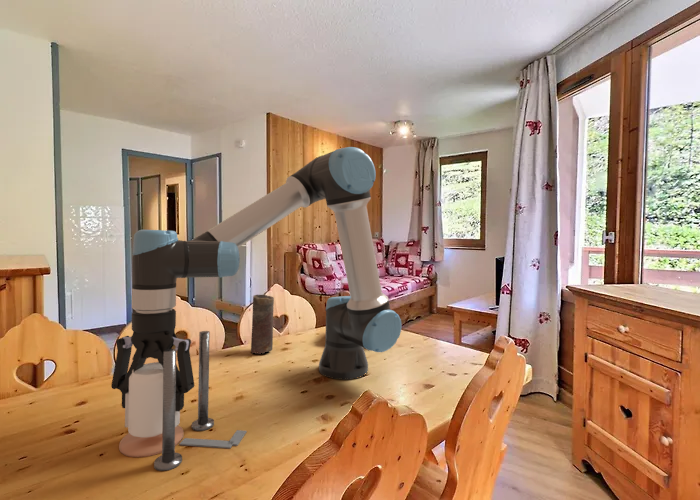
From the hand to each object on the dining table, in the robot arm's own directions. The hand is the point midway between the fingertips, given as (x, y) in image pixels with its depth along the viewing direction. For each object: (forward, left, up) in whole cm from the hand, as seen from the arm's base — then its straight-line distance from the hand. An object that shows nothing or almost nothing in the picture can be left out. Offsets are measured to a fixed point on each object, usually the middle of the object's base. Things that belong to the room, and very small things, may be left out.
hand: (152, 425), depth 70 cm
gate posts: (-7, 0, -3) cm, 8 cm away
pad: (0, 0, -3) cm, 3 cm away
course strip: (-12, -2, -3) cm, 12 cm away
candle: (-4, -57, -3) cm, 57 cm away
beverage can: (0, 0, -1) cm, 1 cm away
